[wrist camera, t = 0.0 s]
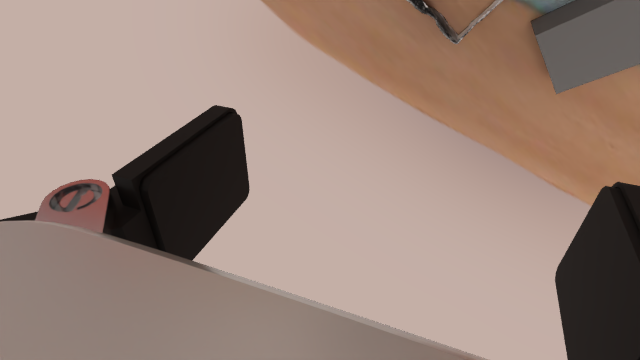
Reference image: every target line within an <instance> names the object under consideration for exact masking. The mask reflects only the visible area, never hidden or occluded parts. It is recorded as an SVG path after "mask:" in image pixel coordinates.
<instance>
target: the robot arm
mask: <svg viewBox="0 0 640 360" xmlns="http://www.w3.org/2000/svg"><path fill="white" fill-rule="evenodd" d="M112 177H113V180H114V182H115V186H114V187H113V188H111V189H110V188H109V186H108V185H107V184H106V183H105V182H103V181H100V180H93V179H88V180H79V181H75V182H71V183H68V184H65V185H63V186H60V187H59V188H57V189H55V190H53V191H52V192H51V193H49V194H48V195H47V196H46V197H45V198H44V200H43V201H42V203H41V206H40V208H39V211H38V212H34V213H30V214H26V215H20V216H16V217H11V218H7V219H2V220H0V360H487V359H485V358H482V357H479V356H476V355H473V354H470V353H467V352H464V351H461V350H458V349H455V348H452V347H449V346H446V345H443V344H440V343H437V342H435V341H431V340H429V339H426V338H423V337H420V336H417V335H414V334H411V333H408V332H405V331H402V330H399V329H396V328H393V327H390V326H387V325H384V324H381V323H378V322H375V321H372V320H369V319H366V318H363V317H360V316H357V315H354V314H351V313H348V312H345V311H342V310H339V309H336V308H333V307H330V306H327V305H324V304H321V303H318V302H316V301H312V300H309V299H306V298H303V297H300V296H297V295H294V294H291V293H288V292H285V291H282V290H279V289H276V288H273V287H270V286H267V285H264V284H261V283H258V282H255V281H252V280H249V279H246V278H243V277H240V276H237V275H234V274H231V273H228V272H225V271H222V270H218V269H215V268H212V267H209V266H206V265H203V264H200V263H197V262H194V261H192V260H193V259H194V258H195V257H196V255H197V254H198V253H199V252H200V251H201V250H202V249H203V248H204V246H205V245H206V244H207V243H208V242H209V241H210V240H211V238H212V237H213V236H214V235H215V234H216V233H217V231H219V229H220V228H221V227H222V226H223V225H224V224H225V223H226V221H227V220H228V219H229V218H230V217H231V216H232V215H233V213H234V212H235V211H236V210H237V209H238V208H239V207H240V206H241V204H242V203H243V202H244V201H245V200H246V198H247V197H248V194H249V181H248V172H247V163H246V154H245V145H244V137H243V129H242V120H241V117H240V115H238V114H237V112H236V110H234V109H233V108H228V107H222V106H217V105H215V106H213V107H211V108H210V109H208V110H207V111H205V112H204V113H202V114H201V115H199V116H198V117H196V118H195V119H193V120H192V121H191V122H189V123H188V124H186V125H185V126H183V127H182V128H180V129H179V130H177V131H176V132H174V133H173V134H171V135H170V136H168V137H167V138H166V139H164V140H162V141H161V142H160V143H158V144H156V145H155V146H154V147H152V148H151V149H149V150H148V151H146V152H145V153H143V154H142V155H140V156H139V157H137V158H136V159H134V160H133V161H131V162H130V163H128V164H127V165H125V166H124V167H123V168H121V169H120V170H118V171H117V172H115V173H114V174H112ZM555 282H556V289H557V295H558V301H559V308H560V314H561V320H562V327H563V333H564V339H565V345H566V351H567V358H568V360H640V186H637V185H631V184H626V183H621V182H617V183H615V184H614V185H613V186H612V187H608V186H605V187H603V188H602V189H601V191H600V192H599V194H598V196H597V198H596V200H595V201H594V203H593V205H592V207H591V208H590V210H589V212H588V214H587V216H586V218H585V219H584V221H583V223H582V225H581V226H580V228H579V230H578V232H577V234H576V236H575V237H574V239H573V241H572V243H571V244H570V246H569V248H568V250H567V251H566V253H565V255H564V257H563V259H562V260H561V262H560V264H559V266H558V268H557V271H556V277H555Z"/></svg>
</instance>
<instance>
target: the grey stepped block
mask: <svg viewBox="0 0 640 360" xmlns="http://www.w3.org/2000/svg"><path fill="white" fill-rule="evenodd" d="M531 24H532V27H533V30H534V33H535V36H536V39H537V42H538V45H539V47H540V50H541V53H542V56H543V58H544V61H545V64H546V67H547V69H548V72H549V75H550V78H551V81H552V83H553V86H554V89H555V92H556V94H558V93H560V92H563V91H566V90H569V89H572V88H574V87H577V86H580V85H583V84H585V83H588V82H591V81H594V80H597V79H599V78H602V77H605V76H608V75H610V74H613V73H616V72H619V71H622V70H624V69H627V68H630V67H633V66H636V65H638V64H640V0H575V1H573V2H571V3H569V4H567V5H564V6H562V7H560V8H558V9H556V10H554V11H552V12H549V13H547V14H545V15H543V16H541V17H539V18H537V19H535V20H532V21H531Z"/></svg>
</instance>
